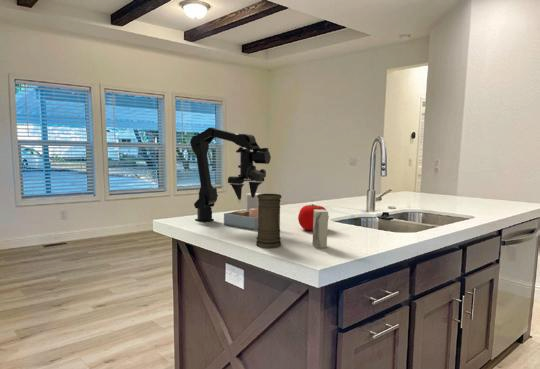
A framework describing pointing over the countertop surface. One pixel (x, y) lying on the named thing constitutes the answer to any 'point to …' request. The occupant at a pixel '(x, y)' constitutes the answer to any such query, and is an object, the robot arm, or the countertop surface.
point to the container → (269, 221)
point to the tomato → (308, 216)
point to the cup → (251, 201)
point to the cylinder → (254, 212)
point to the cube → (242, 213)
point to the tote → (240, 221)
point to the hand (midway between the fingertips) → (246, 198)
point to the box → (320, 228)
